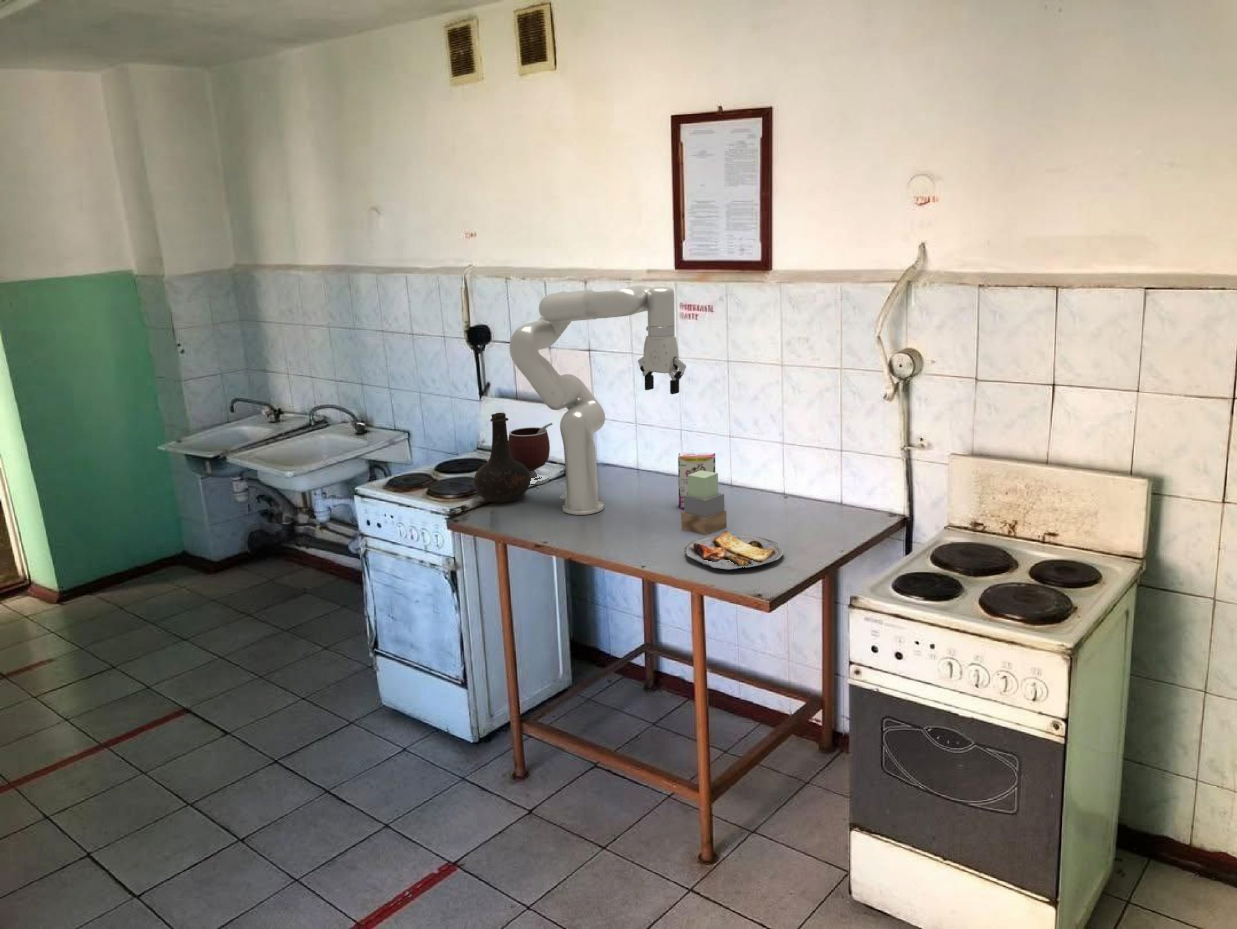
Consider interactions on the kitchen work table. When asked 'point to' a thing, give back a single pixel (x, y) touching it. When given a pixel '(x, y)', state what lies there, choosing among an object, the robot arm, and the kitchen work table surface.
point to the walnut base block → (703, 523)
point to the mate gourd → (530, 448)
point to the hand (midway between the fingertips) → (661, 391)
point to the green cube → (703, 484)
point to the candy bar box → (692, 469)
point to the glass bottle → (501, 468)
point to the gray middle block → (704, 505)
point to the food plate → (733, 550)
